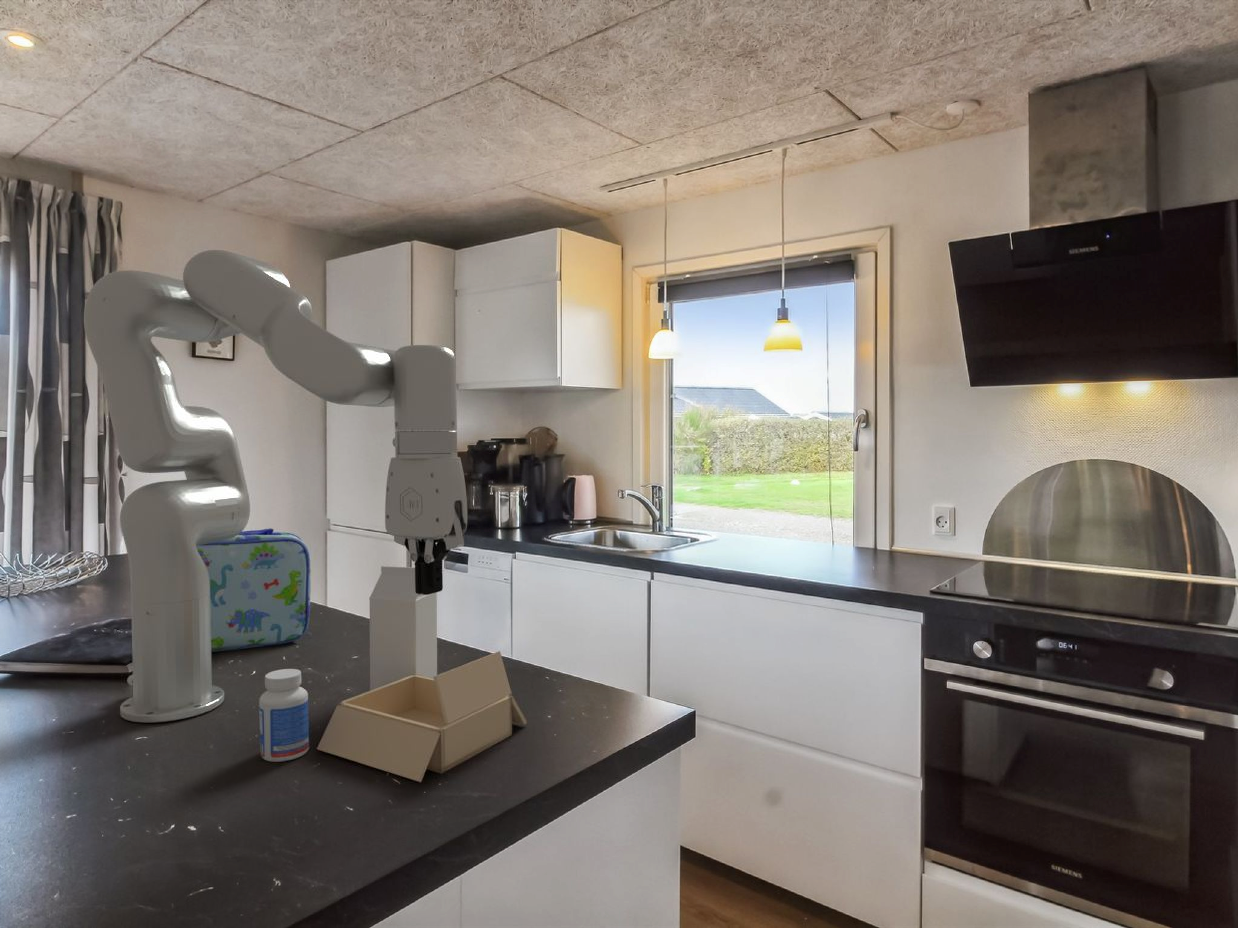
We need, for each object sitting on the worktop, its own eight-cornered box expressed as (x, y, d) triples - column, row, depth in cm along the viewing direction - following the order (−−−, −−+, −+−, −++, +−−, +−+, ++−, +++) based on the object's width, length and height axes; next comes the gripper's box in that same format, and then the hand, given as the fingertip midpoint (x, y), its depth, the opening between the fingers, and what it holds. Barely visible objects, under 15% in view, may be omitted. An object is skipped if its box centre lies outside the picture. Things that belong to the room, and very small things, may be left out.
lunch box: (306, 629, 149) (305, 522, 148) (315, 643, 140) (314, 528, 139) (149, 648, 136) (146, 530, 135) (147, 664, 127) (145, 538, 126)
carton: (296, 746, 95) (296, 706, 95) (414, 697, 112) (414, 663, 112) (419, 785, 85) (419, 741, 85) (528, 725, 102) (528, 688, 102)
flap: (445, 723, 88) (433, 676, 89) (508, 694, 98) (497, 651, 99) (448, 723, 88) (436, 675, 89) (511, 693, 98) (499, 651, 99)
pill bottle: (318, 747, 95) (318, 669, 94) (286, 765, 90) (285, 683, 89) (283, 741, 96) (282, 664, 96) (249, 758, 91) (248, 677, 91)
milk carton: (415, 705, 109) (415, 572, 108) (369, 701, 111) (368, 570, 110) (437, 689, 116) (437, 564, 115) (393, 685, 117) (393, 562, 117)
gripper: (360, 446, 96) (363, 592, 97) (451, 447, 89) (454, 604, 90) (404, 445, 103) (407, 581, 104) (493, 445, 95) (495, 592, 96)
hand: (429, 592), depth 97 cm, fingers closed
